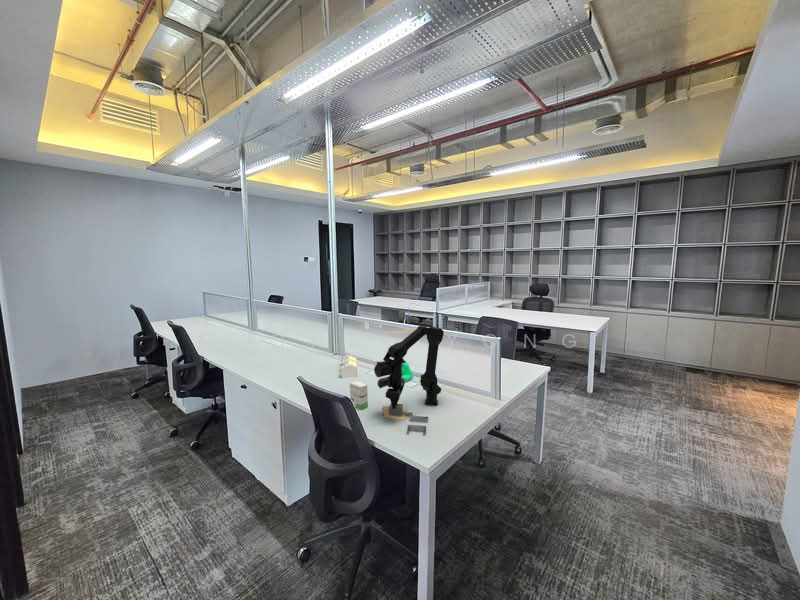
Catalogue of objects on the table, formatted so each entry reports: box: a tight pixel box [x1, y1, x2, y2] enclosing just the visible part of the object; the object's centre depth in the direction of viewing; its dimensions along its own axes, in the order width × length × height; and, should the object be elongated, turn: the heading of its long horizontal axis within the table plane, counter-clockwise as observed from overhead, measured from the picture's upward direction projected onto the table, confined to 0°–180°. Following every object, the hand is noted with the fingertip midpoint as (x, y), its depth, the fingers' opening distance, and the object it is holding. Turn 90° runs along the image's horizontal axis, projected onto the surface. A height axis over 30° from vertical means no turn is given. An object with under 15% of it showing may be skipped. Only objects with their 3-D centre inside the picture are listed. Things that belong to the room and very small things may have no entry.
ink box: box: [349, 380, 369, 410], centre depth 164 cm, size 9×5×12 cm, turn 47°
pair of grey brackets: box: [406, 414, 429, 436], centre depth 145 cm, size 16×8×2 cm, turn 171°
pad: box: [383, 408, 409, 421], centre depth 156 cm, size 10×10×1 cm
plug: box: [381, 403, 414, 416], centre depth 156 cm, size 4×14×4 cm, turn 81°
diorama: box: [339, 354, 358, 379], centre depth 217 cm, size 25×10×13 cm, turn 9°
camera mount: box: [402, 361, 414, 382], centre depth 203 cm, size 12×8×10 cm, turn 54°
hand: (395, 404), depth 155 cm, fingers open, 9 cm apart
